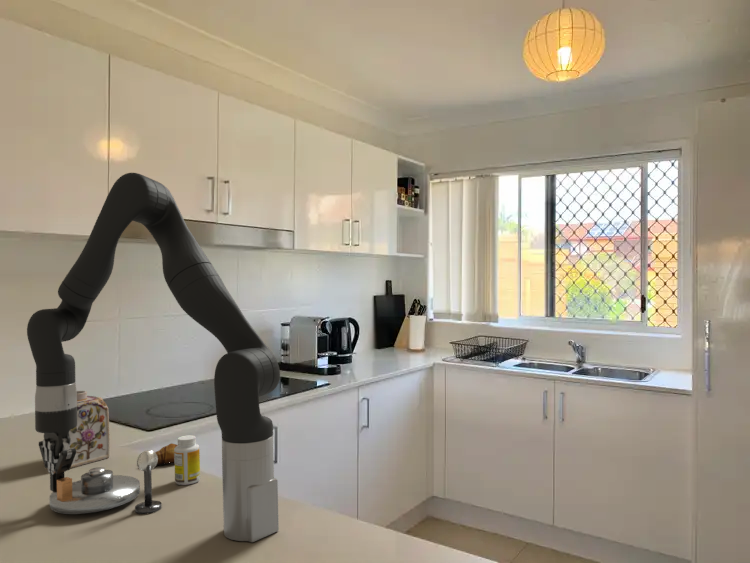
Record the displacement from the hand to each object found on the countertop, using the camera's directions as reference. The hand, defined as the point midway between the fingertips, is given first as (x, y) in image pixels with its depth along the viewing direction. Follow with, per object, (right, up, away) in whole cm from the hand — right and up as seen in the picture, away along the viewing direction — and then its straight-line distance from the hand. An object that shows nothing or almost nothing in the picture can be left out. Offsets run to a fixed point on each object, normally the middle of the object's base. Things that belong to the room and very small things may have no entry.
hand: (57, 490), depth 116 cm
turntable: (+6, -3, +3) cm, 8 cm away
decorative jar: (-14, -5, +34) cm, 37 cm away
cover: (+7, -1, +3) cm, 7 cm away
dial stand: (+19, -4, -1) cm, 19 cm away
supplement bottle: (+22, -4, +15) cm, 27 cm away
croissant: (+12, -4, +30) cm, 33 cm away
